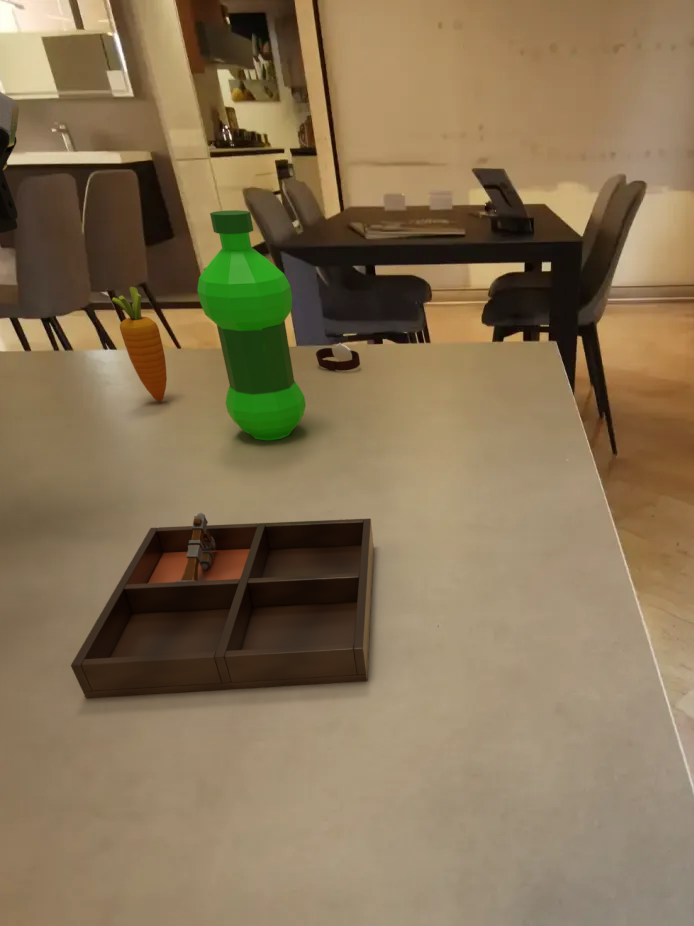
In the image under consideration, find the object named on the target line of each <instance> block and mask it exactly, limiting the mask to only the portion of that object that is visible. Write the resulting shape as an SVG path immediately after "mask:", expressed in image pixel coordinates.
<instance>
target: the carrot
mask: <svg viewBox="0 0 694 926" xmlns="http://www.w3.org/2000/svg"><path fill="white" fill-rule="evenodd" d="M128 290H129V293H130V296H131V300H132V303H130V302H129V301H128V300H127V299H126V298H125V296H124V295H120V296H118V298H117V297H112V299H111V302H112V303H114V304H115V305H118V306H119V307H120V308H122V310H123V311H124V312H125V313H126V314H127V315H128V318H125V319H123V320H122V321H120V323H119V331H120V334H121V337H122V340H123V344H124V346H125V349H126V351H127V354H128V357H129V360H130V362H131V364H132V367H133V368H134V370H135V373H136V375H137V376H138V379H139V380H140V382H141V383H142V385H143V386H144V388H145V389H146V391H147V392H148V393H149V394H150V395H151V397H152V398H153V399H154V400H155V401H157V402H158V403H162V401H163V399H164V397H165V394H166V389H167V381H168V379H167V378H168V377H167V376H168V375H167V363H166V356H165V351H164V346H163V341H162V337H161V333H160V329H159V326H158V324H157V322H155V320H153V319H152V318H150V317H148V316H142V307H141V303H142V295H141V294H139V291H138V288H137V287H135V286H130V287H129V289H128Z"/></svg>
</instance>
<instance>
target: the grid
mask: <svg viewBox="0 0 694 926" xmlns="http://www.w3.org/2000/svg"><path fill="white" fill-rule="evenodd" d="M192 526H193V525H186V526H185V525H184V526H182V525H181V526H161V527H150V528H149V530H148V532H147V533H146V535H145V537H144V538H143V540H142V542H141V544H140V546H139V547H138V548H137V550H136V552H135V554H134V556H133V558H132V559H131V561H130V562H129V564H128V566H127V568H126V569H125V571H124V572H123V575H122V576H121V578H120V580H119V581H118V583H117V585H116V586H115V588H114V590H113V592H112V593H111V595H110V597H109V599H108V600H107V602H106V604H105V606H104V607H103V609H102V611H101V612H100V614H99V616H98V618H97V620H96V621H95V622H94V624H93V626H92V628H91V629H90V631H89V633H88V635H87V636H86V638H85V639H84V642H83V643H82V645H81V647H80V649H79V650H78V651H77V653H76V655H75V657H74V659H73V660H72V662H71V664H70V667H71V670H72V671H73V674H74V676H75V678H76V680H77V682H78V685H79V688H80V689H81V691H82V693H83V695H84V697H85V698H88V699H91V698H105V697H107V698H108V697H120V696H139V695H153V694H167V693H170V694H171V693H185V692H203V691H218V690H234V689H235V690H236V689H249V688H250V689H251V688H252V689H253V688H264V687H265V688H267V687H268V688H269V687H282V686H299V685H313V684H332V683H349V682H362V681H363V682H365V681H368V674H369V673H368V671H369V654H370V653H369V652H370V651H369V650H370V634H371V633H370V629H371V613H372V612H371V611H372V609H371V608H372V589H373V571H374V570H373V568H374V550H375V546H374V545H375V543H374V536H373V534H374V533H373V526H372V518H352V519H351V518H350V519H348V518H347V519H327V520H304V521H303V520H302V521H301V520H300V521H284V522H283V521H279V522H278V521H277V522H276V521H275V522H256V523H255V522H251V523H232V524H231V523H230V524H209V525H208V524H207V527H206V529H207V530H208V532H209V534H210V536H211V537H213V539H214V541H215V542H214V543H215V544H216V550H211V551H212V552H211V553H212V554H213V556H214V559H211V566H212V567H208V569H207V570H203V569H201V566H200V564H199V566H198V581H187V582H175V581H181V579H182V576H183V574H184V571H185V568H186V565H187V560H188V559H187V557H186V556H187V553H188V545H189V540H191V539H192V535H193V529H192ZM202 544H203V546H204V547H203V548H206V546H205V544H204V540H203V542H202ZM202 551H204V549H202Z"/></svg>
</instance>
